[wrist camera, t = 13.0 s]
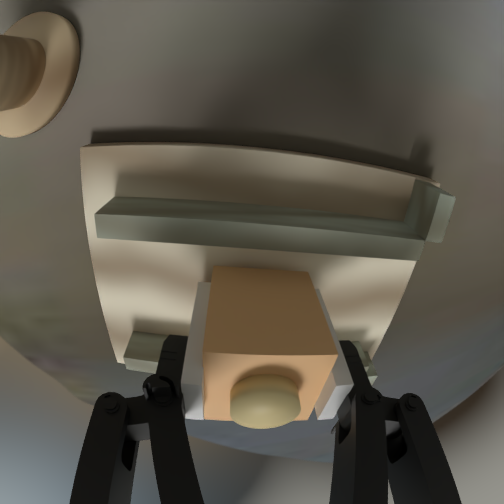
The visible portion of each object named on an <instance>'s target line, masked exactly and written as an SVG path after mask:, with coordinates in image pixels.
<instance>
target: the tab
mask: <svg viewBox="0 0 504 504" xmlns="http://www.w3.org/2000/svg"><path fill="white" fill-rule="evenodd" d="M338 355H339V354H338V352H337V349H336V346H335V343H334V340H333V337H332V335H331V332H330V329H329V326H328V323H327V321H326V318H325V315H324V313H323V310H322V307H321V304H320V302H319V299H318V296H317V294H316V291H315V288H314V286H313V283H312V281H311V278H310V275H309V273H308V272H305V271H289V270H273V269H258V268H243V267H228V266H214V265H213V272H212V279H211V287H210V294H209V302H208V309H207V317H206V325H205V334H204V342H203V351H202V359H203V369H204V403H205V405H204V419H209V420H226V421H235V422H236V423H238V424H240V425H242V426H245V427H249V428H257V429H265V428H273V427H278V426H281V425H284V424H287V423H289V422H291V421H295V420H308V418H309V416H310V414H311V412H312V410H313V408H314V405H315V403H316V401H317V399H318V397H319V395H320V393H321V391H322V389H323V386H324V384H325V382H326V380H327V378H328V376H329V373H330V371H331V369H332V368H333V366H334V364H335V362H336V359H337V357H338Z"/></svg>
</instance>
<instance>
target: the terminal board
mask: <svg viewBox="0 0 504 504" xmlns="http://www.w3.org/2000/svg"><path fill="white" fill-rule="evenodd" d="M80 160H81V178H82V191H83V202H84V211H85V219H86V227H87V234H88V241H89V247H90V253H91V259H92V264H93V270H94V275H95V279H96V284H97V289H98V293H99V298H100V302H101V306H102V310H103V314H104V318H105V322H106V325H107V329H108V332H109V336H110V339H111V343H112V346H113V349H114V352H115V356H116V359H117V362H118V363H124V364H125V365H126V368H127V369H130V370H136V371H142V372H149V373H156V370H157V366H158V361H159V357H160V353H161V349H162V345H163V342H164V340H165V339H166V338H167V337H168V336H169V335H170V334H171V335H181V336H189V330H190V324H191V319H192V313H193V308H194V303H195V297H196V292H197V287H198V282H210V283H211V279H212V272H213V265H214V266H228V267H243V268H258V269H273V270H289V271H305V272H308V273H309V275H310V278H311V281H312V283H313V286H314V288H315V289H319V290H320V293H321V295H322V298H323V300H324V303H325V306H326V308H327V311H328V314H329V316H330V319H331V322H332V324H333V327H334V330H335V332H336V335H337V338H338V340H350V341H351V342H352V343H353V344H354V345H355V347H356V348H357V350H358V353H359V357H360V358H361V360H362V363H363V365H364V368H365V371H366V373H367V376H368V378H369V381H370V383H371V386H372V384H373V382H374V381H375V379H376V378H377V376H378V375H377V373H376V370H375V368H374V366H373V363H372V361H371V360H372V358H373V356H374V354H375V352H376V350H377V348H378V346H379V344H380V342H381V340H382V338H383V336H384V334H385V332H386V330H387V328H388V326H389V324H390V322H391V320H392V318H393V316H394V313H395V311H396V309H397V307H398V305H399V302H400V300H401V298H402V295H403V293H404V291H405V288H406V286H407V283H408V281H409V279H410V276H411V273H412V271H413V268H414V266H415V263H416V261H419V258H420V255H421V253H422V250H423V247H424V244H425V241H430V242H438V243H442V240H443V237H444V234H445V231H446V228H447V225H448V222H449V219H450V216H451V212H452V209H453V206H454V202H455V199H456V197H454V196H453V195H451V194H449V193H447V192H446V191H444V190H442V189H440V188H439V187H440V183H438V182H436V181H434V180H432V179H430V178H427V177H423V176H419V175H415V174H411V173H407V172H403V171H399V170H394V169H390V168H385V167H381V166H376V165H371V164H366V163H361V162H356V161H351V160H345V159H340V158H334V157H328V156H322V155H315V154H309V153H301V152H294V151H286V150H278V149H269V148H260V147H249V146H237V145H224V144H207V143H184V142H118V143H95V144H88V145H85V146H83V147H80Z"/></svg>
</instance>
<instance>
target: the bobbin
mask: <svg viewBox="0 0 504 504" xmlns="http://www.w3.org/2000/svg"><path fill="white" fill-rule="evenodd" d="M79 61H80V44H79V38H78V35H77V32H76V30H75V28H74V26H73V25H72V24H71V23H70V21H68V20H67V19H66V18H64V17H62V16H60V15H57V14H54V13H51V12H36V13H32V14H29V15H27V16H25V17H23V18H22V19H20V20H19V21H17V22H16V23H15V24H13V25H12V26H11V27H10V28H9V29H8V30H7V31H6V32H5V33H4V35H0V135H2V136H5V137H10V138H15V137H20V136H24V135H27V134H31V133H34V132H36V131H38V130H40V129H41V128H43V127H44V126H46V125H47V124H48V123H49V122H50V121H51V120H52V119H53V118H54V117H55V116H56V115H57V114H58V112H59V111H60V110H61V108H62V107H63V105H64V104H65V102H66V100H67V98H68V96H69V95H70V92H71V90H72V88H73V85H74V82H75V79H76V76H77V72H78V67H79Z"/></svg>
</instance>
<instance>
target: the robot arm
mask: <svg viewBox="0 0 504 504" xmlns="http://www.w3.org/2000/svg"><path fill="white" fill-rule="evenodd" d="M210 287H211V283H210V282H198V287H197V292H196V297H195V303H194V308H193V313H192V319H191V324H190V330H189V336H181V335H171V334H170V335H169V336H168V337H167V338H166V339H165V340H164V342H163V345H162V349H161V353H160V357H159V361H158V366H157V370H156V374H153V375H151V376H149V377H148V378H147V379H146V380H145V381H144V383H143V392H144V395H142V396H138V397H131V398H124V397H123V396H122V395H120V394H118V393H115V392H108V393H104V394H102V395H101V396H100V397H98V399H97V401H96V403H95V406H94V409H93V412H92V416H91V419H90V422H89V426H88V429H87V433H86V436H85V440H84V443H83V447H82V451H81V455H80V458H79V463H78V467H77V471H76V475H75V479H74V484H73V489H72V494H71V499H70V504H130V502H131V494H132V486H133V479H134V472H135V466H136V459H137V453H138V447H139V441H140V440H148V439H150V441H151V448H152V455H153V462H154V468H155V474H156V480H157V485H158V490H159V495H160V501H161V504H204V501H203V498H202V495H201V491H200V487H199V483H198V479H197V475H196V472H195V468H194V463H193V459H192V455H191V451H190V446H189V441H188V436H187V432H186V427H185V417H186V418H187V419H197V420H203V419H204V405H205V403H204V369H203V359H202V351H203V342H204V334H205V325H206V317H207V309H208V302H209V294H210ZM315 291H316V294H317V296H318V299H319V302H320V304H321V307H322V310H323V313H324V315H325V318H326V321H327V323H328V326H329V329H330V332H331V335H332V337H333V340H334V343H335V346H336V349H337V352H338V354H339V355H338V357H337V359H336V362H335V364H334V366H333V368H332V369H331V371H330V373H329V376H328V378H327V380H326V382H325V384H324V386H323V389H322V391H321V393H320V395H319V397H318V399H317V401H316V403H315V405H314V406H315V411H316V416H317V420H323V419H333V418H334V416H335V415H336V413H337V414H338V418H339V420H338V422H337V423H336V425H335V426H334V427H333V429H332V431H331V434H333V433H334V432H335V430H336V433H335V449H334V462H333V474H332V484H331V493H330V502H329V504H388V480H389V484H390V488H391V492H392V495H393V499H394V504H462V503H461V500H460V497H459V494H458V490H457V487H456V484H455V481H454V479H453V476H452V473H451V470H450V467H449V464H448V462H447V459H446V456H445V454H444V451H443V448H442V446H441V443H440V441H439V438H438V436H437V433H436V431H435V428H434V426H433V424H432V421H431V419H430V417H429V414H428V412H427V410H426V407H425V405H424V403H423V401H422V400H421V398H420V397H419V396H417V395H415V394H413V393H407V394H404V395H403V396H402V397H401V398H400V399H395V398H388V397H384V396H382V394H381V393H380V392H379V391H378V390H376V389H375V388H372V386H371V383H370V381H369V378H368V376H367V373H366V371H365V368H364V365H363V363H362V360H361V358H360V357H359V353H358V350H357V348H356V347H355V345H354V344H353V343H352V342H351V341H350V340H338V338H337V335H336V332H335V330H334V327H333V324H332V322H331V319H330V316H329V314H328V311H327V308H326V306H325V303H324V300H323V298H322V295H321V293H320V290H319V289H315Z"/></svg>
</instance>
